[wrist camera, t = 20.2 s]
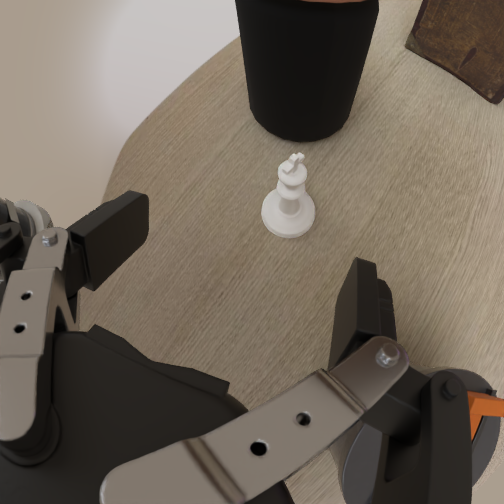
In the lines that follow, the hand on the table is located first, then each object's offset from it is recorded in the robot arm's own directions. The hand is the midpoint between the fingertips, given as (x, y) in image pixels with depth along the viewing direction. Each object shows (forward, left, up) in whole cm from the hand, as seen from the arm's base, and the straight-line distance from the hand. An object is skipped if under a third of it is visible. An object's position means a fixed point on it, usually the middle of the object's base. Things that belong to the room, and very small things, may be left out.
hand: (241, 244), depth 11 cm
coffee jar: (-2, +20, -16) cm, 25 cm away
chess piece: (0, +7, -16) cm, 18 cm away
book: (+18, +38, -16) cm, 45 cm away
